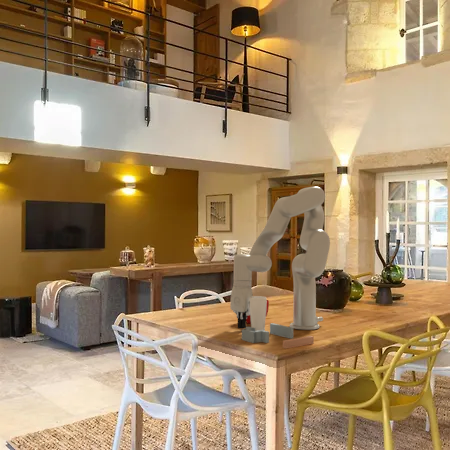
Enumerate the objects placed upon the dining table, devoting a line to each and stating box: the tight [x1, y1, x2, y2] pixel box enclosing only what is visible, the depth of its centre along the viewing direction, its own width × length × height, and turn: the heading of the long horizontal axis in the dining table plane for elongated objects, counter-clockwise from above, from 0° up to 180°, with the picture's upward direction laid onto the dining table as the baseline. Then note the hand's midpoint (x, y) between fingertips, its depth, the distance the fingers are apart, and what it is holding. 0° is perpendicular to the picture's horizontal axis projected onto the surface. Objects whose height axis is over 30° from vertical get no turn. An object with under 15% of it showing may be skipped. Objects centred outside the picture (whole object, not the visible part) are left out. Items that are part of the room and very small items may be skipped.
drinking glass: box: [250, 295, 267, 331], centre depth 206 cm, size 7×7×15 cm
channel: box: [241, 322, 315, 349], centre depth 195 cm, size 18×23×4 cm
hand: (241, 328), depth 214 cm, fingers closed
